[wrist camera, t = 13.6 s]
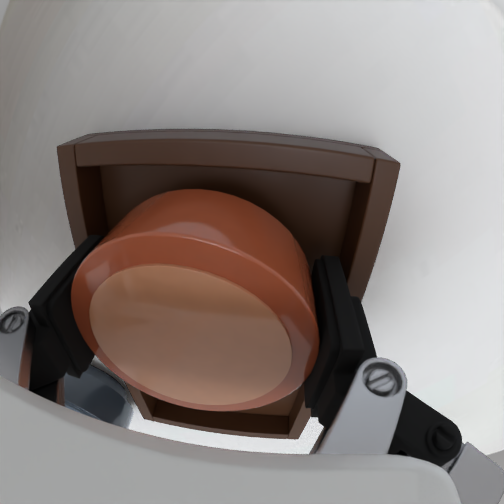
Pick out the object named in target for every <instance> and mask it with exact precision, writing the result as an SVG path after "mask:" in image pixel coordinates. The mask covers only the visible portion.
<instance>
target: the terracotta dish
mask: <svg viewBox="0 0 504 504" xmlns="http://www.w3.org/2000/svg"><path fill="white" fill-rule="evenodd" d="M71 306H72V311H73V316H74V319H75V321H76V324H77V326H78V329H79V331H80V333H81V335H82V337H83V339H84V340H85V342H86V343H87V345H88V346H89V348H90V349H91V350H92V352H93V353H94V354H95V355H96V356H97V358H98V359H99V360H100V361H101V362H102V363H103V364H104V365H105V366H106V367H107V368H109V369H110V370H111V371H112V372H113V373H114V374H116V375H117V376H118V377H120V378H121V379H123V380H124V381H125V382H127V383H129V384H130V385H132V386H133V387H135V388H137V389H139V390H141V391H143V392H145V393H147V394H149V395H151V396H153V397H156V398H158V399H161V400H163V401H166V402H169V403H172V404H176V405H179V406H183V407H188V408H193V409H199V410H207V411H238V410H247V409H252V408H257V407H261V406H264V405H268V404H270V403H273V402H275V401H278V400H280V399H282V398H284V397H285V396H287V395H289V394H290V393H292V392H293V391H295V390H296V389H297V388H298V387H299V386H301V385H302V384H303V383H304V382H305V381H306V379H307V378H308V377H309V375H310V374H311V372H312V370H313V367H314V365H315V362H316V359H317V356H318V353H319V349H320V335H319V327H318V319H317V312H316V304H315V297H314V290H313V284H312V278H311V272H310V267H309V264H308V262H307V259H306V256H305V254H304V252H303V250H302V249H301V247H300V245H299V243H298V242H297V241H296V239H295V238H294V237H293V235H292V234H291V233H290V231H289V230H288V229H287V228H286V227H285V226H284V225H282V224H281V223H280V222H279V221H278V220H277V219H276V218H275V217H273V216H272V215H270V214H269V213H268V212H266V211H265V210H263V209H262V208H260V207H258V206H256V205H254V204H253V203H251V202H249V201H246V200H244V199H241V198H239V197H236V196H234V195H230V194H226V193H222V192H218V191H212V190H203V189H183V190H176V191H170V192H166V193H163V194H159V195H156V196H154V197H151V198H149V199H147V200H145V201H143V202H142V203H140V204H139V205H137V206H136V207H134V208H133V209H132V210H131V211H130V212H129V213H128V214H127V215H126V216H125V217H124V218H123V219H122V220H121V221H120V222H119V223H118V224H117V225H116V226H115V227H114V228H113V229H112V230H111V231H110V232H109V233H108V234H107V235H106V236H105V237H104V238H103V239H102V240H101V242H100V243H99V244H98V245H97V246H96V247H95V248H94V249H93V250H92V251H91V252H90V254H89V255H88V256H87V257H86V258H85V259H84V260H83V261H82V263H81V264H80V266H79V268H78V270H77V271H76V274H75V277H74V280H73V283H72V290H71Z"/></svg>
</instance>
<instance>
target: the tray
mask: <svg viewBox="0 0 504 504" xmlns="http://www.w3.org/2000/svg"><path fill="white" fill-rule="evenodd" d="M57 153H58V162H59V169H60V176H61V182H62V188H63V194H64V200H65V205H66V210H67V215H68V220H69V224H70V228H71V233H72V237H73V241H74V245H75V249H77V248H78V246H79V245H80V244H81V243H82V242H83V241H84V240H85V239H86V238H87V237H88V236H90V235H102V236H106V235H107V234H108V233H109V232H110V231H111V230H112V229H113V228H114V227H115V226H116V225H117V224H118V223H119V222H120V221H121V220H122V219H123V218H124V217H125V216H126V215H127V214H128V213H129V212H130V211H131V210H132V209H133V208H134V207H136V206H137V205H139V204H140V203H142V202H143V201H145V200H147V199H149V198H151V197H154V196H156V195H159V194H163V193H166V192H170V191H176V190H183V189H203V190H212V191H218V192H222V193H226V194H230V195H234V196H236V197H239V198H241V199H244V200H246V201H249V202H251V203H253V204H254V205H256V206H258V207H260V208H262V209H263V210H265V211H266V212H268V213H269V214H270V215H272V216H273V217H275V218H276V219H277V220H278V221H279V222H280V223H281V224H282V225H284V226H285V227H286V228H287V229H288V230H289V231H290V233H291V234H292V235H293V237H294V238H295V239H296V241H297V242H298V243H299V245H300V247H301V249H302V250H303V252H304V254H305V256H306V259H307V262H308V264H309V267H310V272H311V275H312V270H313V265H314V261H315V259H320V258H321V256H322V255H327V256H338V257H339V259H340V262H341V265H342V269H343V272H344V275H345V278H346V282H347V285H348V288H349V292H350V295H351V296H356V297H359V299H360V301H362V298H363V295H364V293H365V290H366V287H367V284H368V281H369V278H370V275H371V272H372V269H373V266H374V263H375V260H376V257H377V254H378V250H379V247H380V244H381V240H382V237H383V234H384V230H385V226H386V223H387V219H388V215H389V212H390V208H391V204H392V200H393V196H394V192H395V187H396V183H397V179H398V174H399V170H400V163H399V162H398V161H397V160H395V159H394V158H392V157H391V156H389V155H388V154H386V153H385V152H383V151H382V150H380V149H379V148H374V147H369V146H364V145H359V144H353V143H347V142H341V141H335V140H328V139H321V138H314V137H306V136H297V135H288V134H278V133H267V132H254V131H238V130H215V129H156V130H133V131H117V132H105V133H94V134H87V135H85V136H82V137H79V138H77V139H74V140H71V141H69V142H66V143H64V144H61V145H59V146H57ZM124 382H125V381H124ZM125 384H126V386H127V388H128V390H129V392H130V394H131V396H132V398H133V399H134V401H135V403H136V405H137V407H138V409H139V411H140V413H141V414H142V416H143V418H144V419H147V420H151V421H156V422H160V423H164V424H169V425H174V426H179V427H184V428H189V429H195V430H201V431H207V432H214V433H221V434H229V435H238V436H248V437H260V438H276V439H299V437H300V435H301V433H302V431H303V430H304V428H305V426H306V424H307V422H308V420H309V418H310V416H311V408H305V396H304V383H303V384H302V385H301V386H299V387H298V388H297V389H296V390H295V391H293V392H292V393H290V394H289V395H287V396H285V397H284V398H282V399H280V400H278V401H275V402H273V403H270V404H268V405H264V406H261V407H257V408H252V409H247V410H238V411H207V410H199V409H193V408H188V407H183V406H179V405H176V404H172V403H169V402H166V401H163V400H161V399H158V398H156V397H153V396H151V395H149V394H147V393H145V392H143V391H141V390H139V389H137V388H135V387H133V386H132V385H130V384H129V383H127V382H125Z"/></svg>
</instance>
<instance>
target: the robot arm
mask: <svg viewBox="0 0 504 504" xmlns="http://www.w3.org/2000/svg"><path fill="white" fill-rule="evenodd" d="M104 237H105V236H102V235H90V236H88V237H87V238H86V239H85V240H84V241H83V242H82V243H81V244H80V245H79V246H78V248H77V249H76V250H75V251H74V252H73V253H72V254H71V255H70V256H69V257H68V258H67V259H66V260H65V261H64V262H63V263H62V264H61V266H60V267H59V268H58V269H57V270H56V271H55V272H54V273H53V274H52V275H51V277H50V278H49V279H48V280H47V281H46V282H45V283H44V285H43V286H42V287H41V288H40V289H39V290H38V292H37V293H36V294H35V295H34V296H33V298H32V299H31V300H30V301H29V305H30V307H31V310H30V312H28V310H27V309H25V308H24V307H13V308H10V309H8V310H6V311H5V312H4V313H3V314H1V316H0V504H498V503H499V501H500V499H501V497H502V495H503V493H504V470H503V469H502V468H501V467H500V466H499V465H497V464H496V463H495V462H493V461H492V460H491V459H490V458H488V457H487V456H486V455H484V454H483V453H482V452H480V451H479V450H478V449H477V448H475V447H474V446H473V445H471V444H470V443H469V442H467V443H465V444H464V443H462V436H461V433H460V430H459V429H458V427H457V425H455V424H454V423H453V422H452V421H451V420H449V419H448V418H446V417H445V416H443V415H442V414H440V413H439V412H437V411H436V410H434V409H433V408H431V407H430V406H428V405H427V404H425V403H424V402H422V401H421V400H419V399H418V398H417V397H415V396H414V395H412V394H411V393H409V392H408V391H406V389H407V378H406V375H405V373H404V371H403V370H402V368H401V367H400V366H398V365H397V364H396V363H395V362H393V361H391V360H389V359H385V358H377V355H376V352H375V348H374V344H373V341H372V337H371V334H370V330H369V327H368V323H367V320H366V317H365V313H364V310H363V307H362V304H361V301H360V299H359V297H356V296H351V295H350V292H349V288H348V285H347V282H346V278H345V275H344V272H343V269H342V265H341V262H340V259H339V257H338V256H327V255H322V256H321V258H320V259H315V261H314V265H313V270H312V275H311V278H312V284H313V290H314V297H315V304H316V312H317V319H318V327H319V335H320V349H319V353H318V356H317V359H316V362H315V365H314V367H313V370H312V372H311V374H310V375H309V377H308V378H307V379H306V381H305V382H304V396H305V408H311V417H318V421H319V423H320V424H322V425H323V426H324V428H323V430H322V431H321V433H320V435H319V437H318V439H317V441H316V442H315V444H314V446H313V448H312V450H311V451H310V453H309V454H278V453H261V452H248V451H238V450H229V449H221V448H214V447H207V446H201V445H195V444H189V443H184V442H179V441H174V440H169V439H165V438H161V437H156V436H152V435H148V434H144V433H140V432H137V431H133V430H129V429H126V428H123V427H119V426H116V425H113V424H110V423H107V422H104V421H101V420H98V419H95V418H92V417H89V416H87V415H84V414H81V413H79V412H76V411H73V410H71V409H69V408H66V407H65V392H64V376H65V374H66V372H67V374H68V375H70V376H73V377H76V378H79V379H80V377H81V375H82V373H83V372H85V371H87V369H88V368H89V366H90V364H91V362H92V360H93V358H94V356H95V354H94V353H93V352H92V350H91V349H90V348H89V346H88V345H87V343H86V342H85V340H84V339H83V337H82V335H81V333H80V331H79V329H78V326H77V324H76V321H75V319H74V316H73V311H72V306H71V290H72V283H73V280H74V277H75V274H76V271H77V270H78V268H79V266H80V264H81V263H82V261H83V260H84V259H85V258H86V257H87V256H88V255H89V254H90V252H91V251H92V250H93V249H94V248H95V247H96V246H97V245H98V244H99V243H100V242H101V240H102V239H103V238H104Z"/></svg>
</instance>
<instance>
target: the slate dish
mask: <svg viewBox="0 0 504 504" xmlns="http://www.w3.org/2000/svg"><path fill="white" fill-rule="evenodd" d="M64 392H65V407H66V408H69V409H71V410H73V411H76V412H79V413H81V414H84V415H87V416H89V417H92V418H95V419H98V420H101V421H104V422H107V423H110V424H113V425H116V426H119V427H123V428H126V429H129V426H130V423H131V420H132V417H133V413H134V412H133V409H132V407H131V405H130V404H129V403H128V401H127V400H126V399H127V393H126V391H125V390H124V388H123V387H122V386H121V385H120V384H119V383H118V382H117V381H116V380H115V379H113V378H112V377H111V376H109V375H108V374H106V373H104V372H103V371H101V370H99V369H97V368H95V367H93V366H89V368H88V369H87V371H85V372H83V373H82V375H81V377H80V379H79V378H76V377H73V376H70V375H68V374H67V372H66V374H65V376H64Z"/></svg>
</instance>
